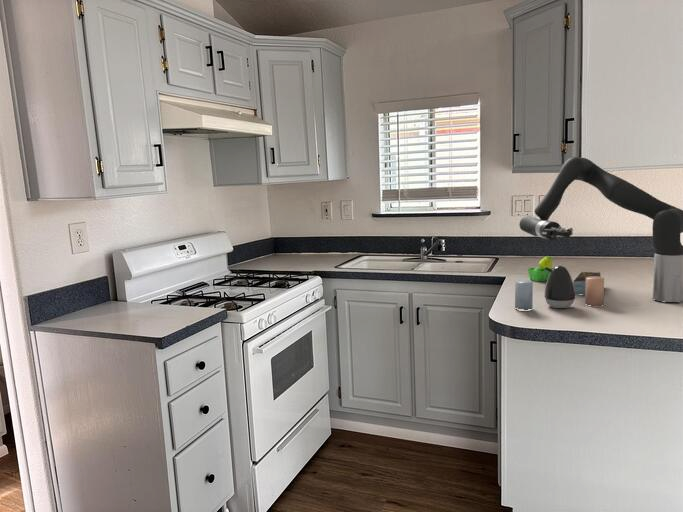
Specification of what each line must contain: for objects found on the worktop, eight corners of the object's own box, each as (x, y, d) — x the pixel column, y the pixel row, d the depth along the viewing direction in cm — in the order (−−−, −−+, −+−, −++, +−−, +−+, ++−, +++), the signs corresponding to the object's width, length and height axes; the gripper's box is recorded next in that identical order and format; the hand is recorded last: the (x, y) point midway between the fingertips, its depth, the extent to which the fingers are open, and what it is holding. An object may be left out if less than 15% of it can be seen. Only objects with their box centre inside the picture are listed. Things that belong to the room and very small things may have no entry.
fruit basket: (546, 277, 241) (547, 253, 239) (560, 280, 232) (560, 255, 230) (526, 279, 237) (526, 255, 235) (539, 283, 229) (539, 257, 227)
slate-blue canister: (535, 308, 188) (535, 281, 186) (527, 312, 183) (527, 284, 182) (520, 306, 192) (520, 279, 190) (511, 309, 188) (511, 282, 186)
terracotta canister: (606, 304, 189) (606, 277, 187) (599, 307, 185) (600, 280, 183) (589, 302, 193) (589, 275, 192) (582, 305, 189) (582, 278, 188)
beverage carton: (571, 295, 205) (572, 278, 204) (580, 285, 221) (580, 270, 220) (594, 297, 201) (594, 280, 200) (601, 287, 217) (601, 271, 216)
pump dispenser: (549, 302, 195) (549, 262, 193) (578, 305, 189) (579, 264, 187) (539, 308, 188) (540, 267, 185) (569, 312, 181) (570, 269, 179)
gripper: (532, 221, 215) (551, 225, 198) (563, 220, 215) (585, 224, 198) (532, 239, 216) (550, 245, 199) (563, 238, 216) (584, 243, 199)
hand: (567, 234), depth 199 cm, fingers closed
